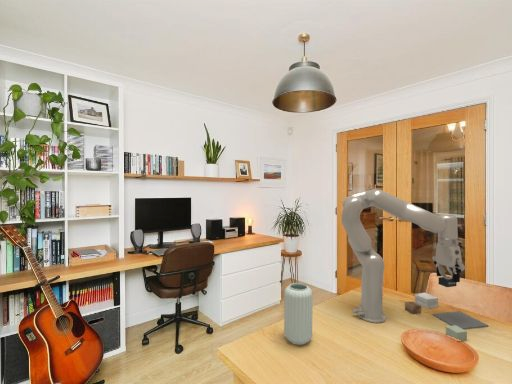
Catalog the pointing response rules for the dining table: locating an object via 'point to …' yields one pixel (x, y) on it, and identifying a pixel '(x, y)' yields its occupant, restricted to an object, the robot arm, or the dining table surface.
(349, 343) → the dining table surface
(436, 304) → the small box
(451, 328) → the sage block
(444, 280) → the watch
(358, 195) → the robot arm
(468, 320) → the slate mat
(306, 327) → the vase
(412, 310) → the walnut block
